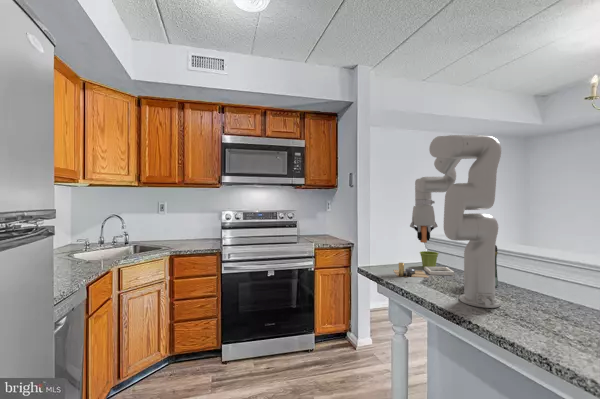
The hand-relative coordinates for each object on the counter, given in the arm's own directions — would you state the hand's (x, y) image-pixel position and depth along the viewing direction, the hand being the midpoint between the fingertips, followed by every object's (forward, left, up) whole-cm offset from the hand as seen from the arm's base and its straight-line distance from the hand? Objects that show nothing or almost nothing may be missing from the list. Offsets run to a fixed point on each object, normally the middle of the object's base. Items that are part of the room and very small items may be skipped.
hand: (423, 239), depth 150 cm
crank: (-7, +10, -16) cm, 20 cm away
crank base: (-5, +8, -17) cm, 19 cm away
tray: (0, -7, -17) cm, 18 cm away
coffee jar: (-18, -20, -17) cm, 32 cm away
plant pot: (+11, -5, -17) cm, 21 cm away
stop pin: (0, 0, -1) cm, 1 cm away
